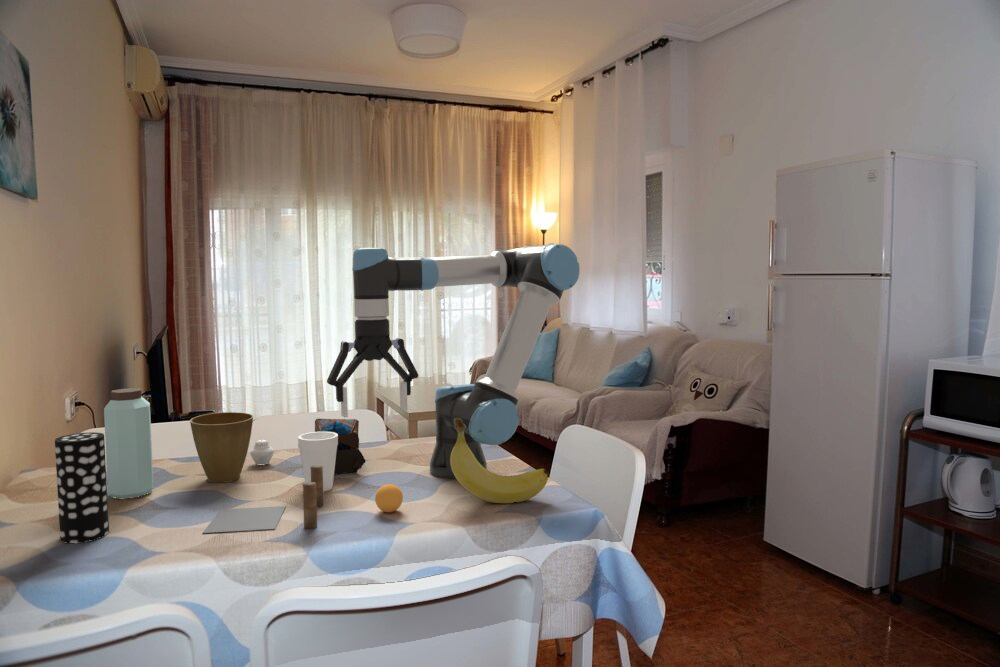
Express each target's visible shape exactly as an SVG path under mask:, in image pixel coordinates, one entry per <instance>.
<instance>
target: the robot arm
mask: <svg viewBox="0 0 1000 667" xmlns="http://www.w3.org/2000/svg"><path fill="white" fill-rule="evenodd" d="M352 256H353V257H352V269H351V270H352V277H353V278H352V280H353V294H354V295H353V300H354V301H353V302H354V303H353V304H354V305H353V307H354V317H355V318H357V319H355V321H354V338H355V339H354V342H349V341H345V340H342V341H341V342H340V350H339V353H338V356H337V358H336V359H335V362H334V364H333V366H332V368H331V371H330V373H329V375H328V377H327V379H326V384H328V385H330V386H333V387H335V395H336V397H335V400H336V402H338V403H340V411H341V412H340V413H341V414H340V415H341V417H343V418H348V417H349V415H348V414H349V413H348V410H349V409H348V387H346V386H345V384H346V383H347V381H348V380H349V379H350V377H351V376H352V375H353V374H354V372H355V371H356V370H357V369H358V367H359V366H360V364H362V363H363V362H364V361H367V362H369V361H370V362H371V361H374V360H375V361H381V360H382V359H384V360H385V361H386V362H387V364H388V365H390V366H391V368H392V369H393V370H394V371H395V372H396V373H397V374H398V375H399V377H401V379H403V380H399V405H400V407H399V408H400V410H402V411H403V412H408V396H411V394H412V390H411V389H412V388H411V383H412V381H413V380H414V379H418V378H419V373H418V370H416V368H415V365H414V363H413V361H412V360H411V358H410V356H409V353H408V352H407V350H406V348H405V339H404V338H403V339H402V338H399V337H397V338H395V339H392V340H391V338H390V333H391V332H390V320H389V318H388V317H389V316H390V306H389V304H390V303H389V300H390V299H389V296H390V295H389V292H395V291H421V292H422V291H426V290H434V288H438V287H453V286H454V287H455V286H472V285H486V284H489V285H490V284H491V285H493V287H496V288H500V287H510V288H518V290H519V296H518V297H517V300H516V303H515V304H514V308H513V310H512V312H511V314H510V317H509V318H508V322H507V324H506V327H505V328H504V330H503V333H502V335H501V337H500V340H499V341H498V344H497V347H496V349H495V352H494V354H493V356H492V359H491V361H490V363H489V364H488V365H489V366H488V368H487V370H486V373H485V375H484V377H483V378H481V379H478V380H476V381H475V383H470V384H469V383H468V384H453V385H446V386H441V387H438V388H437V389H436V391H435V398H434V403H435V445H434V448H433V453H432V456H431V458H430V461H429V472H430V474H431V475H433V476H435V477H438V478H444V479H456V477H455V476H454V474H453V472H452V469H451V463H450V457H451V452H452V450H453V448H454V446H455V444H456V442H457V438H458V432H457V430H456V429H455V424H454V419H455V418H461V419H462V422H463V424H465V425H466V428H465V429H464V438H465V441H466V444H467V445H468V447H469V448H470V450H471V452H472V453H473V455H474V456H475V458H476V459H477V461H478V462H479V463H480V464H481V465H482V466H483V467H484V468H485V469H487V470H488V468H487V467H488V466H487V459H486V457H485V454H484V453H485V452H484V450H483V447H482V445H489V446H497V445H501V444H503V443H505V442H507V441H509V439H511V438H512V436H513V435H514V434H515V433H516V431H517V428H518V426H519V420H520V419H519V418H520V416H519V415H518V413H519V410H518V408H517V404H518V403H519V397H518V395H517V390H518V387H519V384H520V381H521V380H522V377H523V374H524V372H525V370H526V368H527V365H528V362H529V360H530V358H531V355H532V353H533V350H534V347H535V346H536V344H537V340H538V338H539V336H540V334H541V332H542V328H543V326H544V324H545V322H546V319H547V317H548V315H549V312H550V309H551V307H552V306H554V305H557V304H558V303H560V301H561V298H562V296H563V293H564V291H567V290H569V289H571V288H573V287H574V286H575V285H576V284H577V282H578V280H579V277H580V263H579V261H578V257H577V255H576V253H575V252H574V251H573V249H572V248H570V247H568V246H567V245H565V244H561V243H548V244H538V245H525V246H521V247H517V248H511V249H506V250H505V249H504V250H496V251H495V250H494V251H492V252H491V253H490V254H486V255H462V256H461V255H456V256H437V257H436V256H435V257H432V256H431V257H422V256H418V257H417V256H414V257H411V256H410V257H407V256H406V257H391V256H389V255H388V250H387V249H386V248H383V247H361V248H359V247H358V248H356V249H355V250H354V251H353V255H352ZM392 346H393V348H394V349H396V351H397V353H398V355H399V357H400V358H401V361H402V363H403V365H404V366H405V368H406V370H407V371H406V370H405V369H404V368H403V367H402V366H401V365H400V364H399V362H397V360H396V359H395V358H394V357H393V355H392V354H391V353H390V352H389V351H390V349H391V347H392ZM353 349H354V350H355V351H356V354H355V355H354V356H353V358H352V360H351V361H350V363H349V364H348V365H347V367H346V368H345V369H344V370H343V372H342V373H341V370H342V368H343V366H344V364H345V362H346V359H347V357H348V356H349V353H350V352H351V351H352V350H353ZM340 373H341V375H340ZM481 444H482V445H481Z"/></svg>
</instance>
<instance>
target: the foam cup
mask: <svg viewBox="0 0 1000 667" xmlns="http://www.w3.org/2000/svg"><path fill="white" fill-rule="evenodd" d="M297 438H298V440H297V441H298V444H297V445H298V448H299V453H300V460H301V466H302V467H301V468H302V472H303V473H302V474H303V478H304V479H303V480H304V483H307V482H311V466H314V465H322V466H323V492H327V491H329V490H332V489H334V488H333V485H334V480H335V479H334V478H335V474H334V470H335V461H336V451H337V445H338V434H337V433H334V432H315V431H310V432H307V433H305V432H304V433H302V434H300V435H298V437H297Z"/></svg>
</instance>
